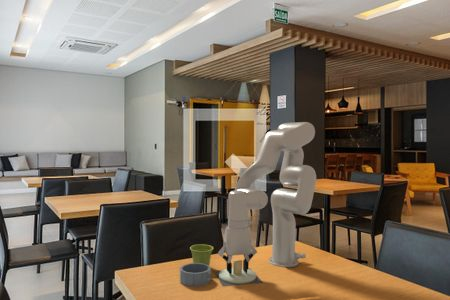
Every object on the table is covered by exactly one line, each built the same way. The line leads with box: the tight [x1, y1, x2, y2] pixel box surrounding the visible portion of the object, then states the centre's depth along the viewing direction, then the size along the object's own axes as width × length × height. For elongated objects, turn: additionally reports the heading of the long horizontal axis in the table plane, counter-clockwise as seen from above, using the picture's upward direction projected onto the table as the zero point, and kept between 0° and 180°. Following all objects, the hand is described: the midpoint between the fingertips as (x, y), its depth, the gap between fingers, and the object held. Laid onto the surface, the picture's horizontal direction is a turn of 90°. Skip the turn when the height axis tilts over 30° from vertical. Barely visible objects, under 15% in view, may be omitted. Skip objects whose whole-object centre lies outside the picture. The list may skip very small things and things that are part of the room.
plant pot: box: [189, 243, 214, 266], centre depth 143 cm, size 9×9×9 cm
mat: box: [213, 267, 264, 287], centre depth 134 cm, size 15×15×1 cm
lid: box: [219, 258, 257, 285], centre depth 134 cm, size 14×14×6 cm
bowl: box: [179, 262, 212, 287], centre depth 130 cm, size 11×11×5 cm
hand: (237, 271), depth 134 cm, fingers open, 5 cm apart
